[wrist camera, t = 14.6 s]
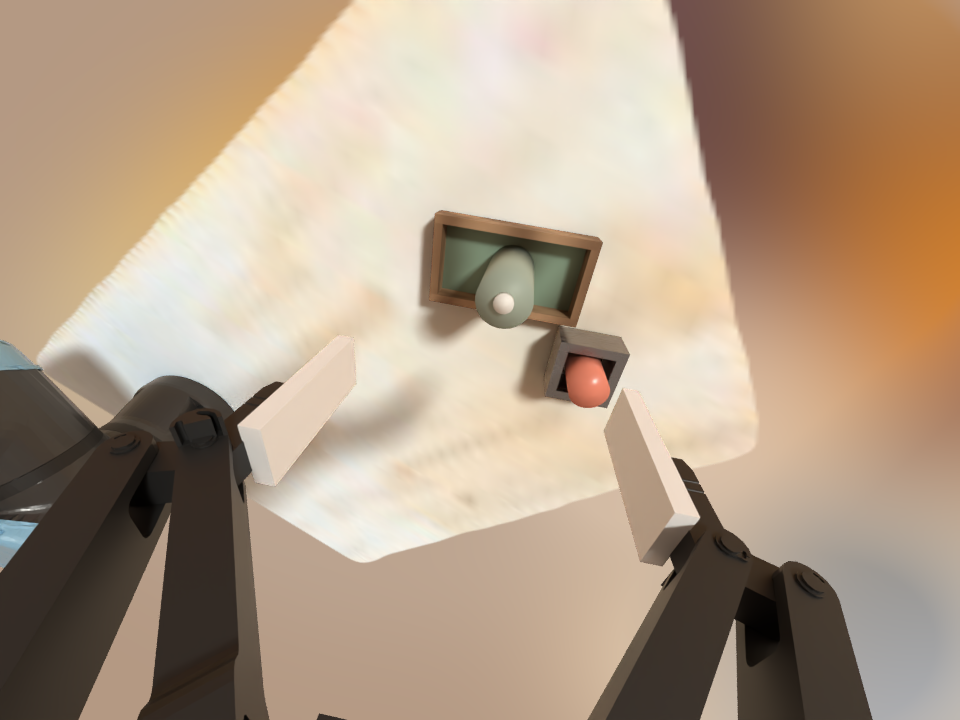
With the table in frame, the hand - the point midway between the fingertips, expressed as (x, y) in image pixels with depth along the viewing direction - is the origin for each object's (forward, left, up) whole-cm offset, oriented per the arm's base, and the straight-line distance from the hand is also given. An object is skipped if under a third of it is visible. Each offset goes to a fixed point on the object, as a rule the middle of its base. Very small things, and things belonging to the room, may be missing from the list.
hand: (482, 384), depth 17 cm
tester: (+10, -9, -22) cm, 26 cm away
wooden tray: (0, 0, -22) cm, 22 cm away
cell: (0, 0, -22) cm, 22 cm away
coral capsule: (+10, -9, -21) cm, 25 cm away
